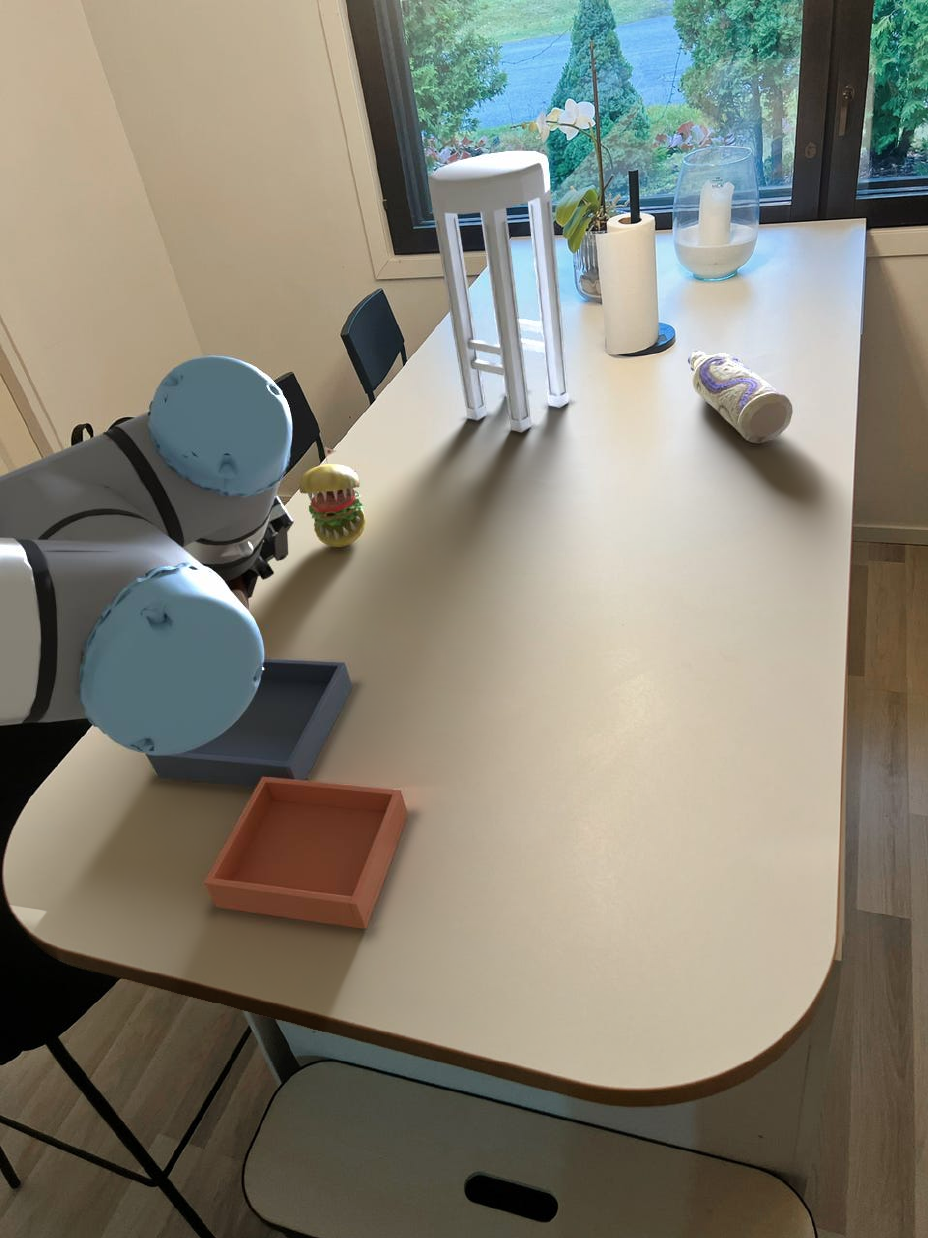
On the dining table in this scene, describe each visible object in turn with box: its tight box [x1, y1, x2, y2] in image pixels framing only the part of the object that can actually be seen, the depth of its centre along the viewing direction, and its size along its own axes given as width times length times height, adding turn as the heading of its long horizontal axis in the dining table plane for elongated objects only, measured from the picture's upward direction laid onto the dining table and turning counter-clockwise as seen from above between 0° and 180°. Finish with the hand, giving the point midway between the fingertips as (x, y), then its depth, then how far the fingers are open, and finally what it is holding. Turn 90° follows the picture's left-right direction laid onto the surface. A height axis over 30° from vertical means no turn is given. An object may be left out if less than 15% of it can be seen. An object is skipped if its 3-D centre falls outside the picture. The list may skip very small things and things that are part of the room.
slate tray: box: [145, 657, 353, 788], centre depth 86 cm, size 15×14×3 cm
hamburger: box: [298, 446, 366, 548], centre depth 111 cm, size 8×7×12 cm
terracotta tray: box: [203, 777, 409, 930], centre depth 72 cm, size 13×11×3 cm
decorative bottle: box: [687, 350, 794, 444], centre depth 124 cm, size 26×8×7 cm, turn 10°
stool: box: [427, 150, 570, 433], centre depth 126 cm, size 16×16×35 cm
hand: (200, 607), depth 81 cm, fingers closed on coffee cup, 8 cm apart
